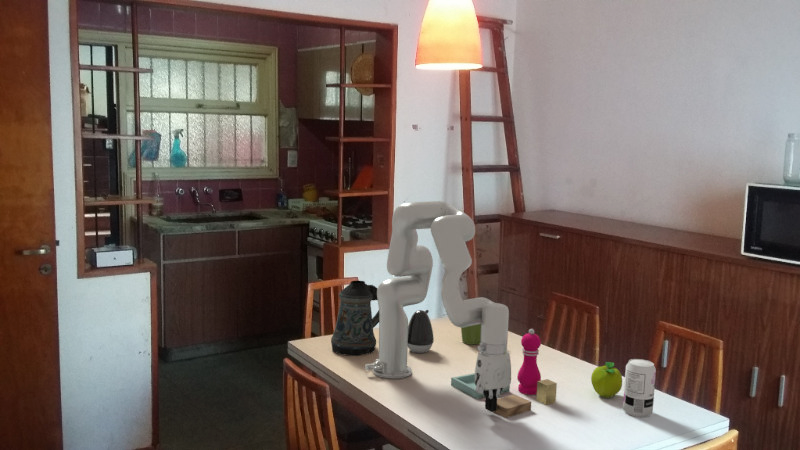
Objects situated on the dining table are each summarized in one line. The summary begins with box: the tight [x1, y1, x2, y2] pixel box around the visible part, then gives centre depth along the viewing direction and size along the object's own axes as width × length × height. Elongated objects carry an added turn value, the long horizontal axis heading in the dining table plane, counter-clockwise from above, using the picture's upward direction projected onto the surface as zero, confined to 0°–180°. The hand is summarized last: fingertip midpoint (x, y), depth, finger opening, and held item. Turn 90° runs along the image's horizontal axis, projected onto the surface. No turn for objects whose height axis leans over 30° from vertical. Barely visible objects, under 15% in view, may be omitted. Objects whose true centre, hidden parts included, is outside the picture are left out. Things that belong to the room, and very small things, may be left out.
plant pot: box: [460, 324, 481, 346], centre depth 274 cm, size 12×12×11 cm
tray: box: [450, 372, 511, 400], centre depth 225 cm, size 13×13×2 cm
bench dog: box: [536, 378, 558, 406], centre depth 215 cm, size 4×4×6 cm
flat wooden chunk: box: [492, 393, 532, 419], centre depth 208 cm, size 10×7×3 cm
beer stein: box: [330, 280, 379, 357], centre depth 261 cm, size 16×19×25 cm
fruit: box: [590, 361, 623, 398], centre depth 221 cm, size 9×9×10 cm
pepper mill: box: [517, 328, 542, 396], centre depth 222 cm, size 7×7×20 cm
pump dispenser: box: [408, 309, 435, 354], centre depth 261 cm, size 10×10×15 cm
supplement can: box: [622, 358, 657, 418], centre depth 208 cm, size 8×8×15 cm
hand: (490, 409), depth 204 cm, fingers closed
